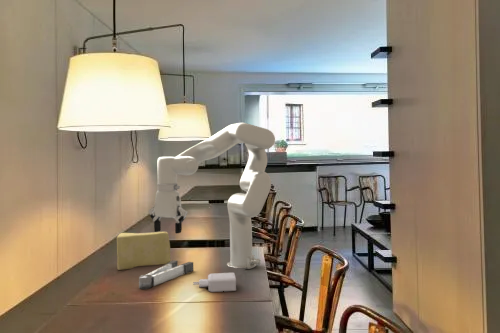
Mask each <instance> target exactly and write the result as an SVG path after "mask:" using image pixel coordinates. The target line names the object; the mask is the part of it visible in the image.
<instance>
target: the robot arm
mask: <svg viewBox="0 0 500 333" xmlns="http://www.w3.org/2000/svg"><path fill="white" fill-rule="evenodd" d="M275 143H276V137H275V134H274V132H273V131H272V130H270V129H268V128H265V127H261V126H257V125H254V124H250V123H246V122H236V123H232V124H229V125H227V126H225V127H224V128H223V129H220V130H219V131H217V132H216V133H215V134H213V135H211V136H210V137H208V138H206V139H204V140H203V141H201V142H199V143H197V144H195V145H193V146H191V147H189V148H187V149H185V150H184V151H183V152H181V153H179V154H178V155H176V156H159V157H158V158H157V166H156V167H157V191H155V192H156V193H155V199H154V206H153V207H151V208H149V209H148V213H149V215H150V216H149V217H150V218H151V219H152V222H153V227H154V228H153V230H154V232H161V229H162V228H161V226H162V224H161V218H166V219H167V218H169V219H174V220H175V224H174V226H175V227H174V228H175V229H174V230H175V234H181V233H182V230H183V229H182V226H183V225H182V223H183V222H184V220H185V219H186V217H187V216H188V210H185V209H184V208H182V200H181V199H182V198H181V194H180V191H178V190H179V189H180V187H181V186H180V185H178V175H183V176H191V175H193V174H195V173H196V172H197V171H198V169H199V164H201V163H202V162H206V161H207V160H211V159H212V160H213V159H214V158H218V157H220V156H221V155H222V154H224V153H225V152H227V151H228V150H230V149H232V148H233V147H235V146H236V145H238V144H244V145H245V147H246V149H247V152H248V159H247V162H246V165H245V168H244V169H243V172H242V174H241V177H240V178H239V179H240V180H239V187H240V189H241V190H242V191H243V192H246V193H243V192H236V193H234V194H231V196H230V197H229V198H228V200H227V213H228V219H229V220H228V221H229V250H230V251H229V254H230V255H229V258H230V261H229V262H227V263H226V266H228V267H231V268H235V269H237V268H240V269H241V268H242V269H243V268H244V269H245V268H246V270H250V269H254V268H256V266H257V265H261V263H262V260H261V258H256V257H255V255H254V254H253V224H252V218H254V217H257V216H258V215H259V214H260V213H261V212H262V210H263V207H264V205H265V203H266V200H267V198H268V195H269V193H270V190H271V188H272V179H271V177H270V175H269V174H268V173H267V172H266V167H267V166H268V165H267V164H268V155H267V151H266V150H269V149H271V148H272V147H273V146H274V144H275Z"/></svg>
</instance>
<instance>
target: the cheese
mask: <svg viewBox="0 0 500 333" xmlns="http://www.w3.org/2000/svg"><path fill="white" fill-rule="evenodd" d="M116 259H117V260H116V262H117V264H116V266H117V267H116V268H117V270H118V271H124V270H125V271H126V270H131V269H134V268H135V267H142V266H144V267H145V266H157V265H166V264H167V263H168V262H170V261H172V260H171V243H170V236H169V232H167V231H158V232H155V231H154V232H141V233H139V232H120V233H119V234H118V235H117V236H116Z"/></svg>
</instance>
